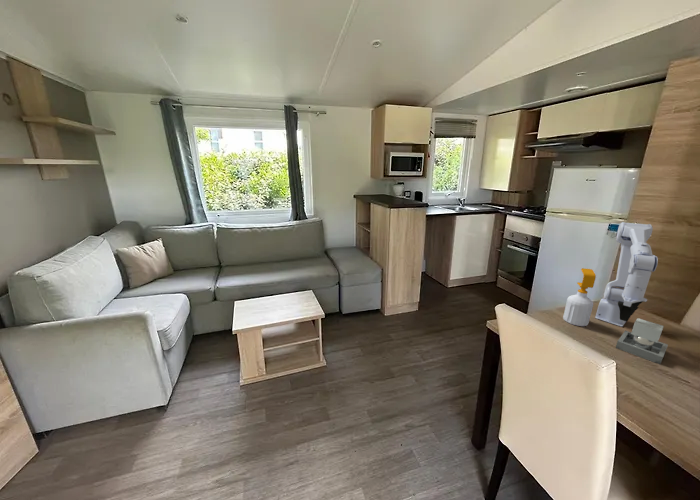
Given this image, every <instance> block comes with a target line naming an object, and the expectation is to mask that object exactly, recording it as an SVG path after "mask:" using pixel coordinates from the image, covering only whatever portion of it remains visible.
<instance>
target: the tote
mask: <svg viewBox="0 0 700 500" xmlns="http://www.w3.org/2000/svg"><path fill="white" fill-rule="evenodd" d="M631 332H632V331H629V330H623V333H622V334H621V336H620V337H619V338H618V340H617V342H616V345H615V349H618V350H620V351H623V352H626V353H628V354H630V355H634V356H636V357H639V358H641V359H645V360H648V361H650V362H652V363H655V364H658V365H662V361H663V360H664V359H663V358H664V356H665V355H666V351H667V349H668V346H669V344H667V343H664V342H661V341H659V340H658V342H657V343H656V342H654V344H653V347H652V350H651V351H648V350H645V349H643V348H640V347H637V346H634V345H631V344H632V341H633V338H634V335H632V334H631Z"/></svg>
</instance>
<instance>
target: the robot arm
mask: <svg viewBox="0 0 700 500" xmlns="http://www.w3.org/2000/svg"><path fill="white" fill-rule="evenodd" d="M617 228H618V229H617V234H616V242H617V243H619V244H620V253H619V259H618V266H617V271H616V277H615V279H614V280H612V281H609V282H608V283H606V285H605V288H604V292H603V298H601V299H600V301H599V303H598V306H597V310H596V313H595V316H594V318H595V319H597V320H601V321H604V322H606V323H609V324H612V325H616V326H618V327H622V328H623V327H624V325H625V324H626V323H627V322H628V321H629V320H630V318H631V316H632V315H634V313H635V311H637V310H638V309H639V308H640V307H639V306H640V304H642V303H646V302H647V301H648V298H646V297H645V293H646V291H647V287H648V285H649V281H650V279H651V275H652V273H653V272H655V271H656V269H657V267H658V262H659V260H658V259H659V258H658V256H656V255H654V254H653V251H652V247H651V245H650V244H649V243H647V242H648V240H649V239H650V238H651V237H652V233H653V230H654V228H653V226H652V224H651V223H648V224H646V223H633V222H624V221H622V222H620V223H619V225H618V227H617Z"/></svg>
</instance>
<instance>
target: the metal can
mask: <svg viewBox="0 0 700 500" xmlns="http://www.w3.org/2000/svg"><path fill="white" fill-rule="evenodd" d="M653 344H654V342H653V341H650V340H647V339H644V338H641V337H638V336H635V335H634V338H633V341H632V344H631V345H634V346H637V347H640V348H643V349H645V350H648V351H651V350H652V347H653Z"/></svg>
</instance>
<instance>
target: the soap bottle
mask: <svg viewBox="0 0 700 500" xmlns="http://www.w3.org/2000/svg"><path fill="white" fill-rule="evenodd" d="M580 270H581V272H582V274H583V276H582V280H581V281H582V282H581V281H580V282H576V283H577V285H578V286H579V288H580V289H579V288H578V289H577V292H576V294H572V295H569V296H568V297H567V298H566V302H565V303H566V304H565V307H564V311H563V312H564V313H563V316H562V319H563V321H565V322H566V323H569V324H571V325H573V326H578V327H585V326H586V327H587V326H588V325H589V322H590V318H591V315H592V311H593V308H594V302H593V300H592V299H591V298H590V297H588V291H587V289H589V288H591V289H593V288H594V285H595V281H596V278H597V277H596V276H597V275H596V273H595V271H594V269H592V268H584V267H583V268H581V269H580Z"/></svg>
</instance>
